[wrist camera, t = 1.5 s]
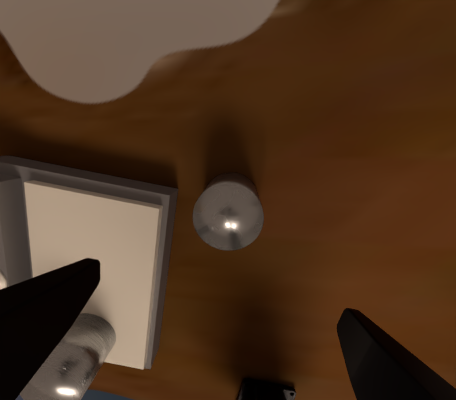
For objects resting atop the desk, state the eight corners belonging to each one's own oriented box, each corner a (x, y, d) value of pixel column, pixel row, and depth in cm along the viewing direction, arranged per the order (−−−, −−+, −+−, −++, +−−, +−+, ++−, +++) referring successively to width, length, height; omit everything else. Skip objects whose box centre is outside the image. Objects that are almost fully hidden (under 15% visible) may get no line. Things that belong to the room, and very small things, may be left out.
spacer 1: (115, 356, 22) (79, 418, 17) (67, 347, 22) (18, 406, 17) (117, 318, 20) (78, 374, 16) (65, 308, 20) (12, 361, 16)
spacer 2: (251, 228, 20) (254, 256, 16) (200, 218, 20) (188, 243, 16) (263, 178, 19) (271, 191, 14) (208, 167, 19) (198, 177, 14)
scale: (158, 348, 25) (140, 393, 21) (27, 322, 25) (-19, 362, 21) (178, 188, 20) (159, 203, 15) (9, 155, 20) (-60, 160, 15)
